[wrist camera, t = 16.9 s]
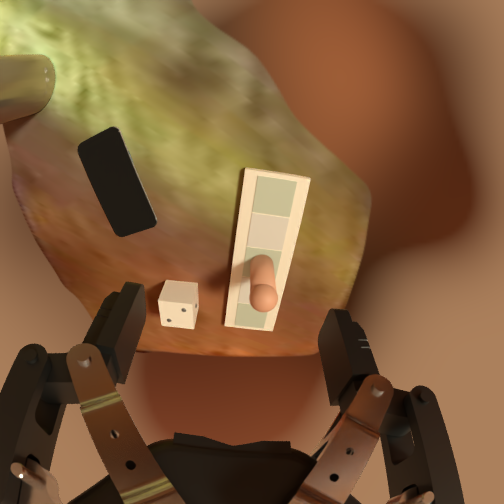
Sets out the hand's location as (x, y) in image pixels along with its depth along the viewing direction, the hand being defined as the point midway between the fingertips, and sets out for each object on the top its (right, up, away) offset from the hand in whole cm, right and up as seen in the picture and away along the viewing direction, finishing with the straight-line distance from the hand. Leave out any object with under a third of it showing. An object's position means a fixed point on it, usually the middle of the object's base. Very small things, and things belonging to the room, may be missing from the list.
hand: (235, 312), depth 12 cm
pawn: (+2, +1, +29) cm, 29 cm away
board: (+2, +1, +30) cm, 30 cm away
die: (-10, -4, +33) cm, 35 cm away
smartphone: (-17, +12, +24) cm, 32 cm away
